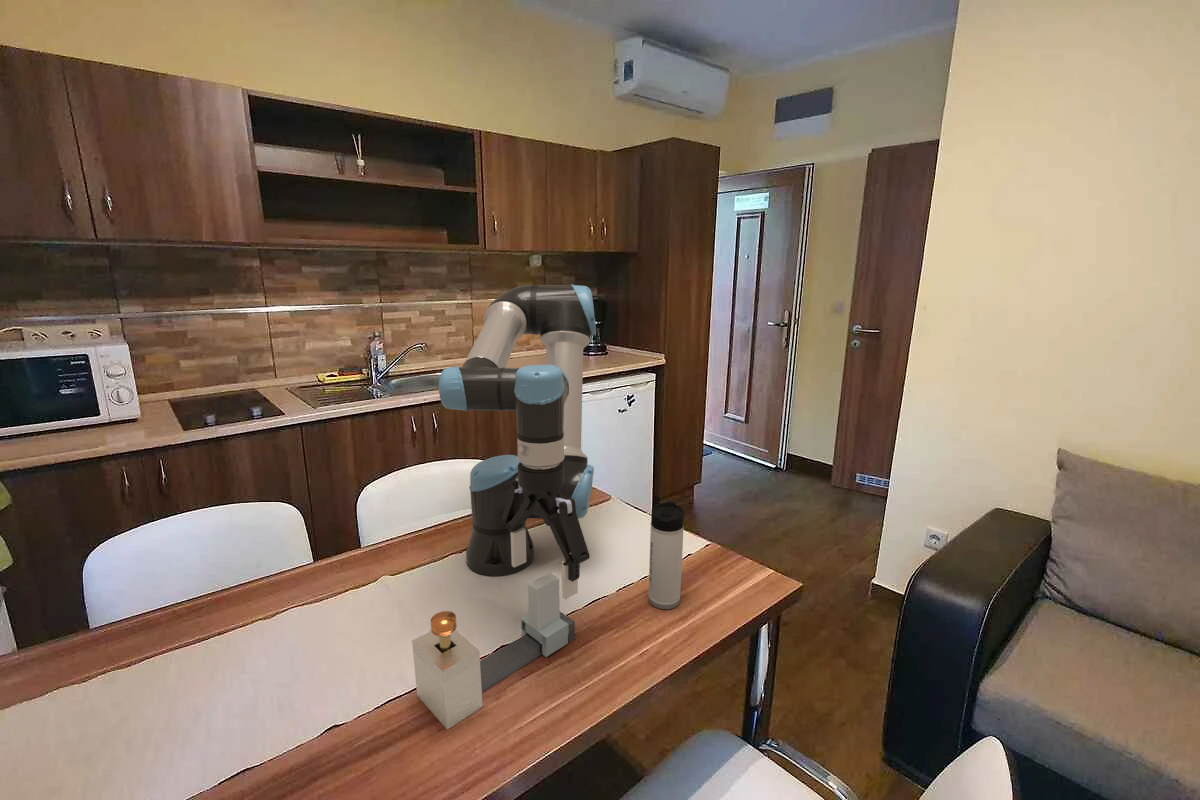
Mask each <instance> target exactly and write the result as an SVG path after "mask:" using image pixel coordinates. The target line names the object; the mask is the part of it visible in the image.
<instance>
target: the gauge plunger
mask: <svg viewBox="0 0 1200 800" xmlns="http://www.w3.org/2000/svg"><path fill="white" fill-rule="evenodd" d="M457 627H458V626H457V616H456V613H455V612H453V611H449V610H446V611H440V612H437V613H435V614H434V615H433V616H431V618H430V629H431V630H430V631H431V632H432V633H433V634H434V635H436V636H439V644H440V652H441V653H444V652H446V651H448V650H449V649H451V640H450V634H451V633H453V632H454V631H455V630H456V629H457Z"/></svg>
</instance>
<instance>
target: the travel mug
mask: <svg viewBox="0 0 1200 800" xmlns="http://www.w3.org/2000/svg"><path fill="white" fill-rule="evenodd" d="M650 512H651V516H650V517H651V518H650V537H649V538H650V539H649V543H650V544H649V570H648V572H649V573H648V598H647V599H648V602H649V603H650V604H651V606H654V607H655V608H657V609H660V610H671V609H675V608H676V607H678V606H679V604H680V602H681V589H682V587H681V586H682V585H681V584H682V564H683V547H684V546H683V544H684V543H683V542H684V527H685V526H684V519H685V518H684V517H685V511H684V509H683V507H682V506H680V505H679V504H676V502H675V501H669V500H667V501H666V502H662V503H658V504H656V505H655V506H653V507H652V508H651V511H650Z"/></svg>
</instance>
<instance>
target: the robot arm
mask: <svg viewBox="0 0 1200 800" xmlns="http://www.w3.org/2000/svg"><path fill="white" fill-rule="evenodd" d="M592 293H593V292H592V290H591V289H590V287H588V286H586V285H577V284H576V285H575V284H573V283H572V284H525V285H519V286H516V287H514V288H511V289H509V290H507V291H505V292H503V293H502V294H500V295H499V296H497V297H496V298H495V299H494V300H493V301H492V302H491V303H490V304H489V306H488V307H487V309H486V310H485V312H484V315H483V327H481V328H482V329H481V330H480V332H479V334H478V336H477V338H476V339H475V342H474V344H473V345H472V348H471V349H470V351H469V354H468V355H467V357H466V359H465V361H464V363H463V364H462V366H458V365H456V366H454V367H452V366H451V367H446V368H444V369H442V372H441V373H440V376H439V381H438V393H439V400H440V403H441V404H442V406H443V408H445V409H447V410H456V411H463V412H467V411H503V412H504V411H505V412H506V411H507V412H508V411H509V412H512V411H514V412H515V413H516V418H515V419H516V438H517V441H516V442H517V455H516V454H503V455H497V456H492V457H489V458H486V459H484V460H481V461H479V462H478V463H477V464H475V465H474V466H473V467H472V469H471V471H470V473H469V474H470V476H469V480H470V481H469V483H470V484H469V486H468V487H469V491H470V504H471V506H470V507H471V522H472V523H471V524H472V531H471V533H470V537H469V541H468V546H467V548H466V552H465V557H466V558H465V559H466V561H465V562H466V565H467V567H468V568H469V569H471V571H472V572H475V573H477V574H481V575H484V576H494V577H495V576H496V577H497V576H499V577H500V576H506V575H507V576H508V575H510V574H514V573H518V572H521V571H522V570H524V569H526V568H527V567H528V566H530V564H532V562H533V561H534V559H535V545H534V542H533V540H532V537H531V535H530V532H529V530H528V527H527V525H526V523H527V521H528V519H535V520H536V519H539V520H543V521H544V523H545V525H546V526H548V527H549V528H550V530H551V533H552V534H553V536H554V539H555V541H556V543H557V545H558V547H559V549H560V551H561V554H562V556H563V557H564V560H562V561H561V593H562V594H561V595H562V597H561V598H562V599H564V600H568V599H570V598H572V597H573V596H575V595H577V594H579V593H578V588H579V582H578V580H579V579H580V576H581V575H580V574H581V573H580V568H581V567H580V564H581V563H583V562H586V561H587V560H589V559H590V557H591V556H590V555H591V554H590V553H589V552H590V551H589V549H588V546H587V542H586V540H585V536H584V534H583V529H582V528H581V525H580V521H579V519H582V518H584V517H585V516H586V515H587V514H588V510H589V507H590V502H591V501H590V500H591V496H592V495H591V494H592V490H593V489H592V487H593V482H594V481H593V480H594V471H595V468H594V466H593V465H591V464H588V462H589V461H588V460H589V459H588V456H587V455H586V453H584V452H583V450H582V425H583V424H582V420H583V419H582V418H583V377H584V376H583V374H584V372H583V371H584V369H583V367H584V349H585V348H586V347H587V346H588V345H589V344H590V343H591V337H592V336H596V335H597V327H596V326H597V325H596V318H595V308H594V300H593V294H592ZM523 335H536V336H537V335H540V336H539V337H540V338H539V339H540V340H539V341H540V343H542V344H543V346H544V347H545V348H546V349H545V364H532V365H525V366H522V367H507V365H508V363H509V360H510V358H511V355H512V353H513V350H514V348H515V345H516V343H517V340H518V339H519V338H521V337H522V336H523Z"/></svg>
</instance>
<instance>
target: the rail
mask: <svg viewBox="0 0 1200 800" xmlns="http://www.w3.org/2000/svg"><path fill="white" fill-rule="evenodd" d="M560 619H562V620H563V621H565V622H566V623H568V624H569V634H568V643H570V642H572V641H574V640H575V638H576V636H575V634H576V633H575V632H576V631H575V629H576V627H575V626H576V625H575V624H576V623H575V620H573V619H571V618H570V617H569V616H567V615H566V614H564V613H563V612H562V611H560ZM450 640H451V649H449V650H448V651H446V652H444V653H441V652H440V644H439V636H436V635H434V634H433V633H432V632H431V630H430V631H429V632H426V633H424V634H422V635H420V636H418V637H416V638H414V639H413V640H412V641H411V643H412V644H411V645H412V655H413V663H414V675H415V677H414V678H415V686H416V687H415V688H416V696H417V698H418V699H419V700H420V701H421V702H422V703H423V704H424V705H425V707H427V708H428V710H430V712H431V713H432V714H433V716H434V717H435V718H436V719H437V720H438V721H439V722H440V723H441V724H442V726H443V727H444V728H445V729H446V730H447V731H448V730H449V729H450V728H452V727H454V726H455V725H457V724H458V723H460V722H462V721H463V720H464V719H466V718H467V717H469V716H471V715H472V714H474V713H475V712H477V711H479V709H482V708H483V692H485V691H486V690H488V689H489V688H492V687H493V686H494V685H495V684H498V683H499V682H501V681H502V680H504V679H505V678H507V677H508V676H510V675H512V674H513V673H515V672H516V671H518V670H519V669H521V668H523V667H525V666H526V665H527V664H529V663H531V662H532V661H534V660H535V659H537V658H538V657H541V656H543V654H542V644H541V643H540V642H538V641H537V640H536V639H534V638H533V637H532V636H530V635H529V634H528V633H527V634H526V635H524V636H522V635H521V637H519V638H517V639H515V640H513V641H512V642H511V643H509V644H507V645H505V646H503V647H502V648H500V649H498V650H497V651H495V652H493V653H492V654H489V655H488V656H487V657H485V658H483V659H481V658H480V656H481V655H480V650H479V648H477V647H476V646H475V645H474V644H472V643H471V642H470V641H469V640H468V639H467V638H465V636H464V635H462V634H461V633H460V632H459V631H458V630H456V629H455V631H454V632H453V633H451V634H450Z"/></svg>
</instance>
